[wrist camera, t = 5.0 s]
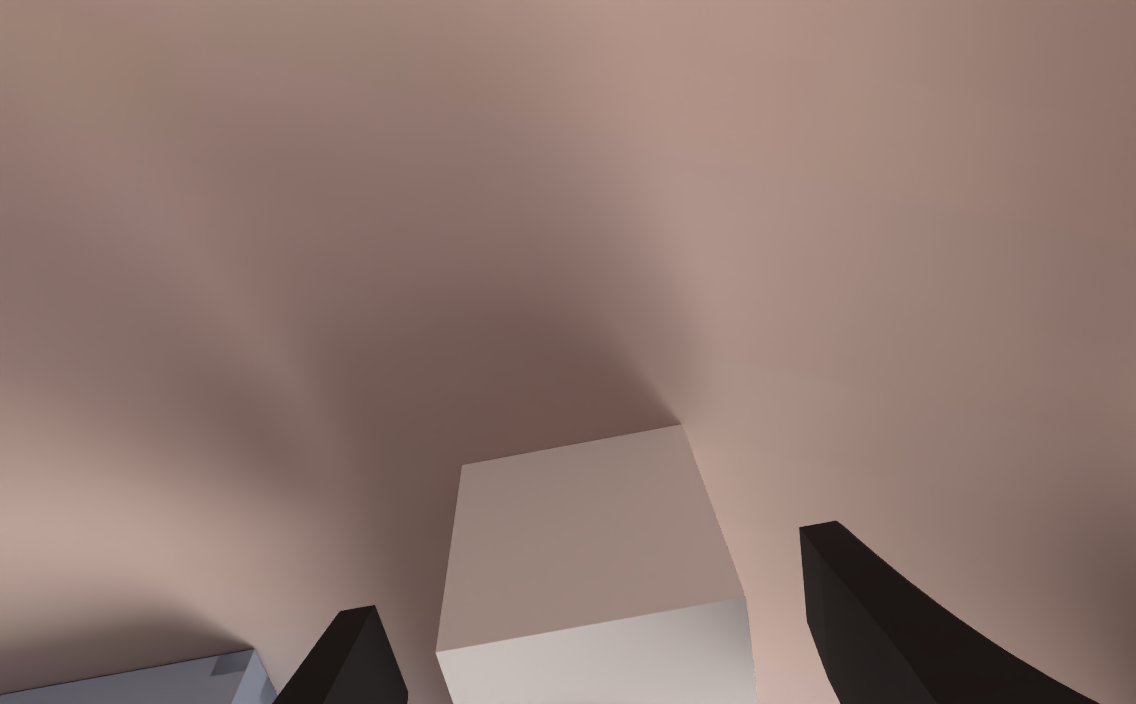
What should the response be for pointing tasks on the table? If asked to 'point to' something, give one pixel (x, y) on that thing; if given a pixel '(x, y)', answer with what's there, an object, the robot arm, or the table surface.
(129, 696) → the tray
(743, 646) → the white block with knob
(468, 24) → the table surface
